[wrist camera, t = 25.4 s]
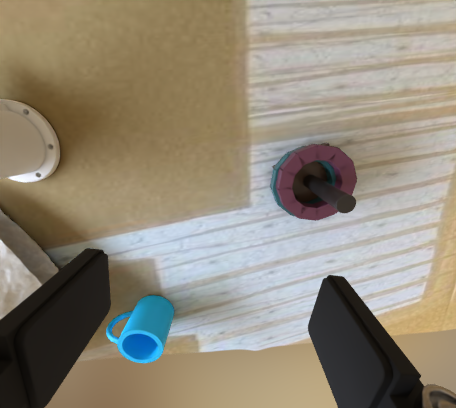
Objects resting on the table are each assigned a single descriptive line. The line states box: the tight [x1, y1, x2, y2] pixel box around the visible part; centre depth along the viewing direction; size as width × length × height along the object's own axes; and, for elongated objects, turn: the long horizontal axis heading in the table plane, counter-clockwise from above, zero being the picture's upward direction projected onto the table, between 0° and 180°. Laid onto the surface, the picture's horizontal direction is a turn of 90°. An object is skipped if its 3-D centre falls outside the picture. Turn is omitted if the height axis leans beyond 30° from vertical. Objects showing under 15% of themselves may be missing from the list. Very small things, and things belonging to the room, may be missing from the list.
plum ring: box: [276, 144, 357, 220], centre depth 32 cm, size 11×11×2 cm
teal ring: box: [270, 146, 336, 216], centre depth 34 cm, size 11×11×2 cm
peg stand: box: [273, 143, 356, 213], centre depth 30 cm, size 9×9×13 cm
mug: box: [106, 295, 174, 363], centre depth 42 cm, size 12×8×8 cm
